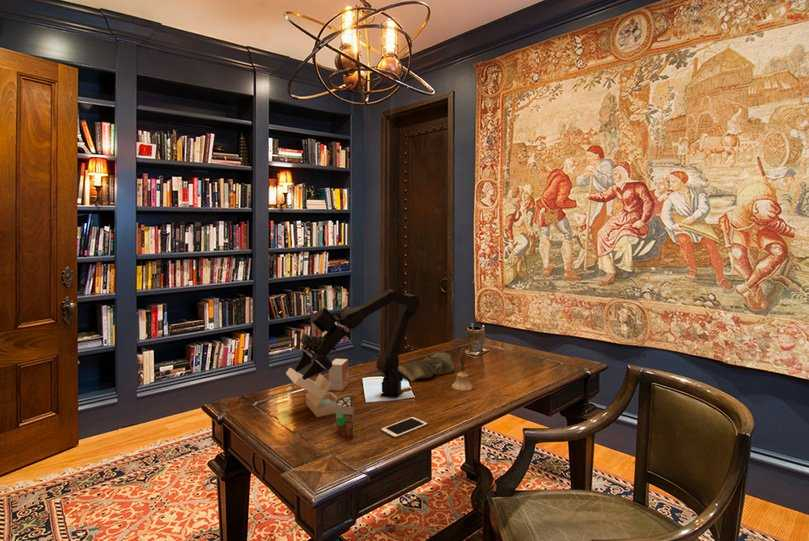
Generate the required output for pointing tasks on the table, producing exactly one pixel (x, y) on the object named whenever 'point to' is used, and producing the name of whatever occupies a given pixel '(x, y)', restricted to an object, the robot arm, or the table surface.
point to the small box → (339, 374)
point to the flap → (311, 386)
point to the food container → (345, 415)
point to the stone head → (428, 367)
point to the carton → (323, 405)
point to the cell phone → (403, 427)
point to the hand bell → (462, 375)
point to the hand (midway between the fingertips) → (299, 374)
